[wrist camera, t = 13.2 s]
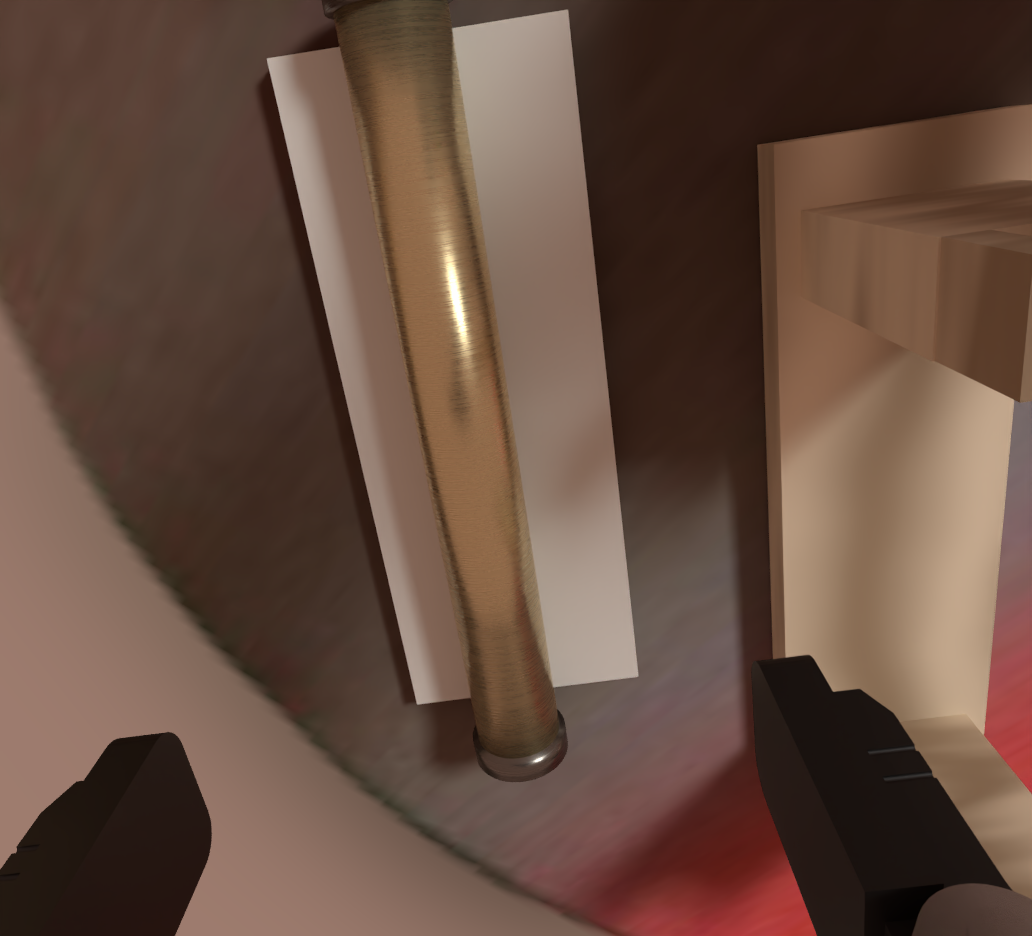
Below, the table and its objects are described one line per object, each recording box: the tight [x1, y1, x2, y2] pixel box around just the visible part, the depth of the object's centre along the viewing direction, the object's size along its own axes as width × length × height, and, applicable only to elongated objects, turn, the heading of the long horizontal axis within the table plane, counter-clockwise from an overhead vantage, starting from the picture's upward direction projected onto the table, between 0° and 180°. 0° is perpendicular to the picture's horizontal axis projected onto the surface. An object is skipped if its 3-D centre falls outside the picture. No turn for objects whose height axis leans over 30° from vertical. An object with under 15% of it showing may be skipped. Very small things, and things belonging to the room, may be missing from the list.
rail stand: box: [757, 104, 1032, 899], centre depth 21 cm, size 7×24×12 cm, turn 8°
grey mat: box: [267, 10, 638, 705], centre depth 25 cm, size 8×21×1 cm, turn 8°
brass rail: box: [322, 0, 568, 782], centre depth 23 cm, size 24×3×3 cm, turn 8°
